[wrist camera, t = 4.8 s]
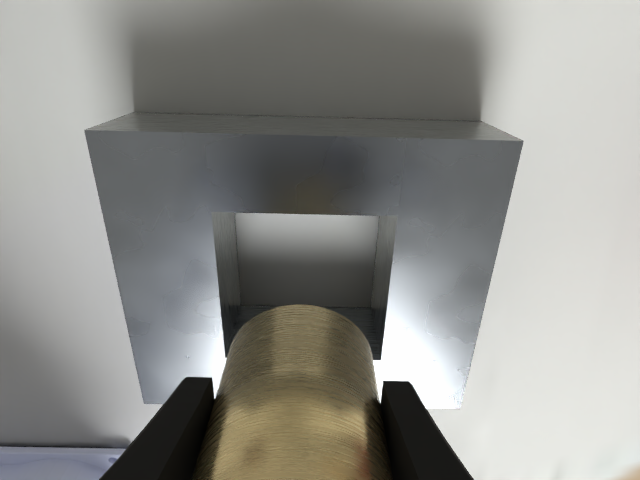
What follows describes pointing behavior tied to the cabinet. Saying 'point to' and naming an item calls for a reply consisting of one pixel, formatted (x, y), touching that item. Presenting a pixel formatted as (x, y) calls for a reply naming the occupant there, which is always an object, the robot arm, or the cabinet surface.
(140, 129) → the block
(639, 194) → the cabinet surface
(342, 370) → the bushing
